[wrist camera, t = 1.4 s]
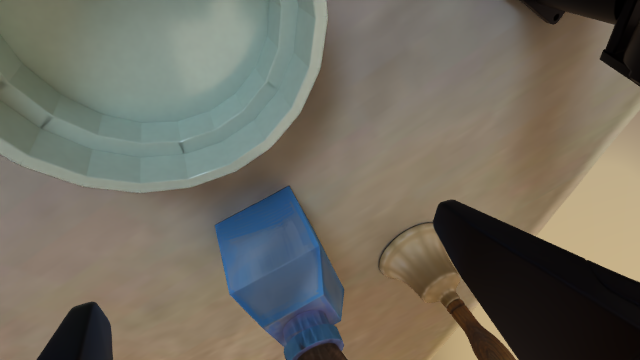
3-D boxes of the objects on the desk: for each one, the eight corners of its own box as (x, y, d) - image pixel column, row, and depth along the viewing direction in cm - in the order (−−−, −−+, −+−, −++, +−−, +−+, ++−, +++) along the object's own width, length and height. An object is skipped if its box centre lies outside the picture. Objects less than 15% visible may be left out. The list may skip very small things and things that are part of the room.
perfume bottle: (251, 266, 30) (294, 416, 21) (214, 225, 25) (250, 392, 17) (314, 231, 30) (383, 365, 21) (289, 185, 26) (361, 329, 17)
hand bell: (455, 219, 38) (592, 359, 26) (425, 270, 42) (530, 409, 31) (395, 225, 34) (522, 391, 23) (368, 280, 39) (463, 442, 27)
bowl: (335, -82, 17) (387, -77, 13) (240, 158, 23) (258, 207, 19) (-99, -381, 9) (-260, -568, 5) (-66, 100, 15) (-131, 163, 12)
